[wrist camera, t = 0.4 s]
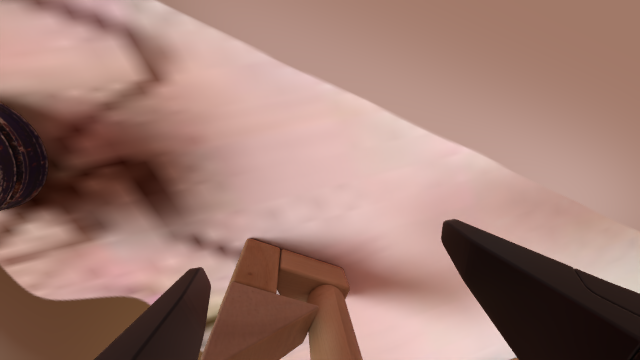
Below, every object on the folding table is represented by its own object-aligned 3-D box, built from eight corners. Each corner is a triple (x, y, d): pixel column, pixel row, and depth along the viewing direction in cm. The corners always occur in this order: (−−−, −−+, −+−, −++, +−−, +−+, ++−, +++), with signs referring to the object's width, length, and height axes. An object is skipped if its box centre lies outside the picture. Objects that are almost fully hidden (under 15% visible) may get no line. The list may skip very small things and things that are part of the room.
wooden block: (248, 235, 25) (141, 507, 7) (343, 266, 27) (441, 537, 9) (236, 266, 25) (110, 586, 8) (330, 294, 27) (398, 598, 10)
